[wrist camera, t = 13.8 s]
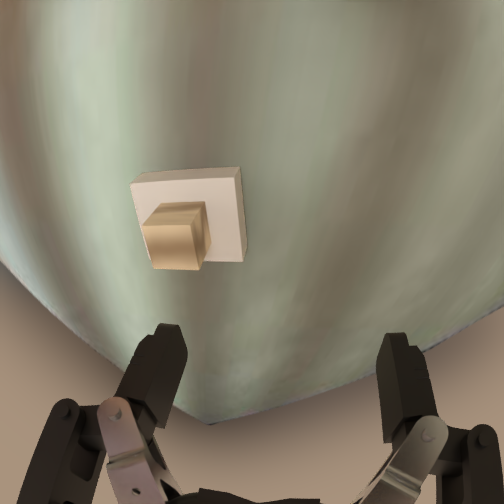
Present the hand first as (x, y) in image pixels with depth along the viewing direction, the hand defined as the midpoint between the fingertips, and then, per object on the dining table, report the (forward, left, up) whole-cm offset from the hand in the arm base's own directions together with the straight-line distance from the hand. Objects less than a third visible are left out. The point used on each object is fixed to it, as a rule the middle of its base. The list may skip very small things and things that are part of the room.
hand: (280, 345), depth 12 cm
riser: (+9, -14, -30) cm, 34 cm away
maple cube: (+9, -14, -26) cm, 31 cm away
